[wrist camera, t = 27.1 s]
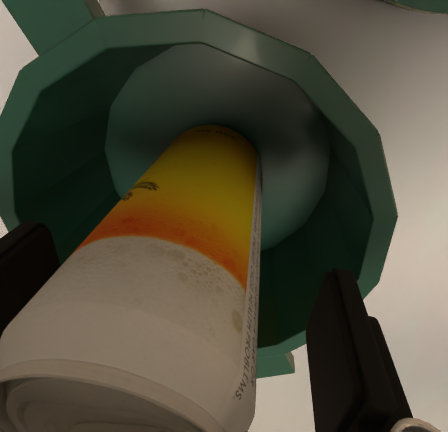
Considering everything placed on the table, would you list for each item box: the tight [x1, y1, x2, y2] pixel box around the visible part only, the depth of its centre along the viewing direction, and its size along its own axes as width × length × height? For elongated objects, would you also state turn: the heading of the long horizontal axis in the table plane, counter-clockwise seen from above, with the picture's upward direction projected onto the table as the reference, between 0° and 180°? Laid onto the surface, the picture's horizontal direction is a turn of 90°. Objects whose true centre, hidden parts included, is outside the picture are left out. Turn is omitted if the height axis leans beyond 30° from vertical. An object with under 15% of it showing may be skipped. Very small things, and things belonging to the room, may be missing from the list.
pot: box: [0, 0, 398, 378], centre depth 16 cm, size 16×21×8 cm
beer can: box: [0, 125, 263, 432], centre depth 12 cm, size 6×6×15 cm
